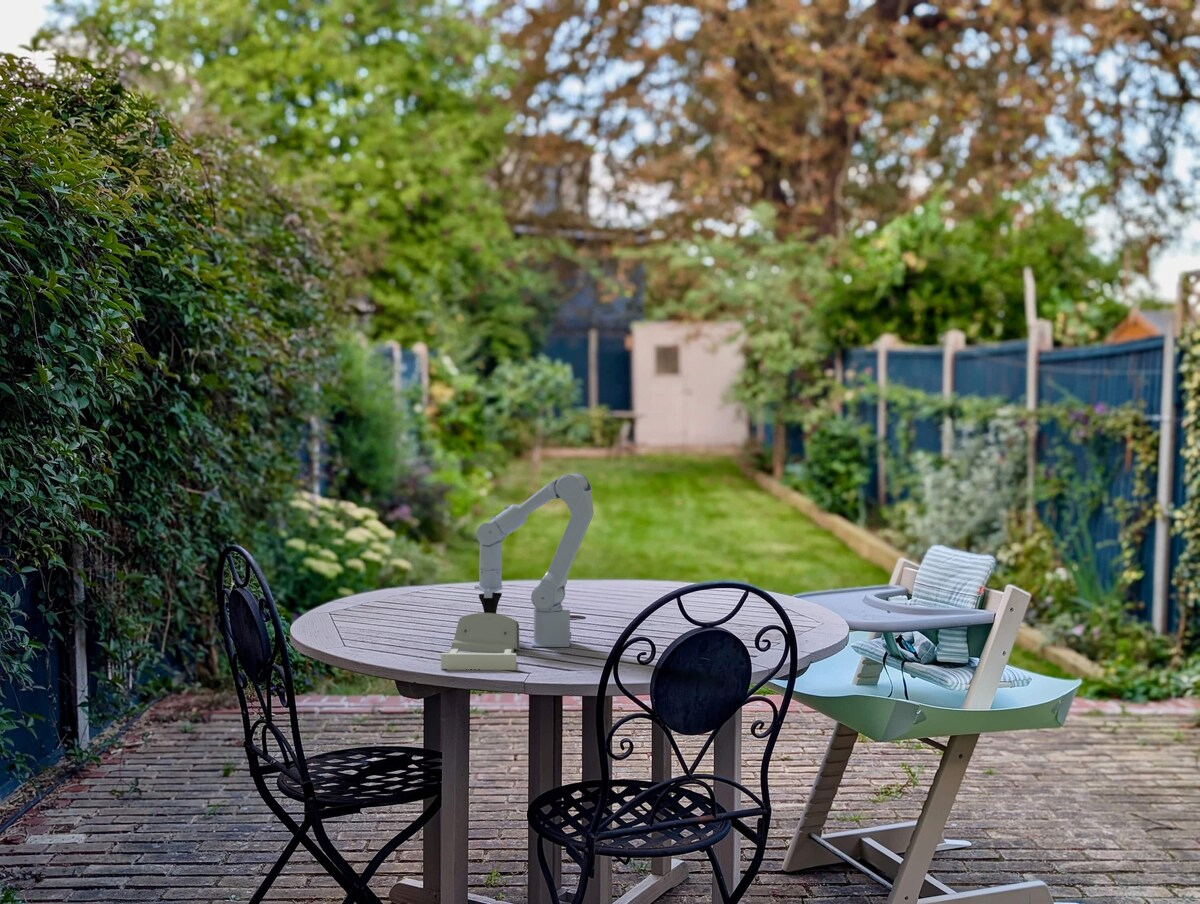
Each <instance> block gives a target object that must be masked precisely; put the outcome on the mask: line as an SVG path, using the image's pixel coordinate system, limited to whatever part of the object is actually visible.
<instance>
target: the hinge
mask: <svg viewBox="0 0 1200 904" xmlns="http://www.w3.org/2000/svg"><path fill="white" fill-rule="evenodd" d="M450 647H451V648H450V650H451V649H458V651H460V650H461V652H462V651H463V652H474V653H504V651H505V649H512V653H515V651H520V624H519V622H518V621H517V620H515V619H514V618H512V617H509V616H507V615H503V614H500V613H496V614H494V613H484V612H477V613H471V614H467V615H464V616H461V617H460V618H459V619H458V622H457V627H456V630H455V633H454V638H453V641H452V642H451V646H450Z"/></svg>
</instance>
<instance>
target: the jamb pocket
mask: <svg viewBox="0 0 1200 904" xmlns="http://www.w3.org/2000/svg"><path fill="white" fill-rule="evenodd" d="M441 669H447V670H454V671H455V670H456V671H457V670H459V671H460V670H461V671H463V670H464V671H467V670H470V669H472V670H470V671H475V670H474V669H476V671H479V670H478V669H480V671H516V670H517V653H515V652H513V653H512V649H505V651H504V653H490V652H459V650H458V649H451V648H450V651H449V652H441V654H440V670H441ZM466 669H467V670H466Z"/></svg>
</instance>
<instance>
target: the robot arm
mask: <svg viewBox="0 0 1200 904" xmlns="http://www.w3.org/2000/svg"><path fill="white" fill-rule="evenodd" d="M592 493H593V487H592V485H591V483H590V481H589V479H588V477H587V476H586V475H584V474H583V473H581V472H573V473H571V474H569V473H568V474H567V473H566V474H563V475H560V476H559V478H557V479H554V480H552V481H551V482H549V483H547V484H546V485H544V486H543V487H542V488H540V489H539V490H538V491H536V492H535V493H534V494H533V495H532V496H530V497H528V499H526V500H525V501H524V502H522V503H521V504H520V505H519V504H515V503H514V504H513V503H512V504H511V505H510V504H507V505H506V506H504V507H503V509H504V510H503V511H501V512H500V513H499V514H497V515H496V516H491V517H490V518H489V520H490V522H483V523H481V524H480V526H479V527H478V528H477V530H476V539H477V541H478V542H479V562H478V563H479V564H478V565H479V572H478V575H479V581H478V582H479V585H475V586H474V589H475V590H479V591H481V592H483V593H479V594H478V598H479V600H480V602H481V605H482V609H483V613H494V614H497V611H498V607H499V606H498V605H499V602H500V599H501V598H502V595H503V594H502V592H499V591H502V590H503V585H502V584H503V582H502V581H503V580H502V577H503V575H502V571H503V568H502V567H503V558H502V557H503V552H502V551H503V550H502V549H503V548H502V547H503V544H502V543H503V541H504V539H506V537H508V536H509V535H510V534H513V532H515V531H516V530H517V529H519V528H520V527H522V526H523V525H524V524H526V523H527V520H528V515H529V514H532V513H533V512H535V511H536V510H537V509H539V508H540V507H543V506H544V505H545V504H547V503H548V502H549V501H551V500H558V499H562V501H563V502H564V503H565V504H566V506H567V507H568V509H569V511H570V513H571V516H570V518H569V520H568V523H567V525H566V528H565V530H564V532H563V535H562V537H561V540H560V541H559V544H558V546H557V548H556V551H555V553H554V556H553V558H552V560H551V562H550V565H549V568H548V569H547V571H546V572H545V574H544V576H543V577H542V578H541V580H540V583H539V584H538V585H537V586H536V587H535V588H534V589H533V590H532V592H531V595H530V596H531V598H530V599H531V603H532V605H533V606H534V607H533V639H532V642H531V647H532V648H533V647H534V648H537V647H538V648H570V647H569V646H570V644H571V642H570V641H571V640H572V632H571V610H570V609H563V605H562V602H564V600H565V597H566V585H567V583H568V575H569V572H570V570H571V567H572V565H573V563H574V561H575V558H576V556H577V554H578V552H579V549H580V547H581V545H582V542H583V541H584V538H585V535H586V533H587V531H588V528H589V526H590V524H591V521H592V519H593V517H594V512H595V511H594V503H593V502H594V501H593V496H592Z"/></svg>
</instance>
